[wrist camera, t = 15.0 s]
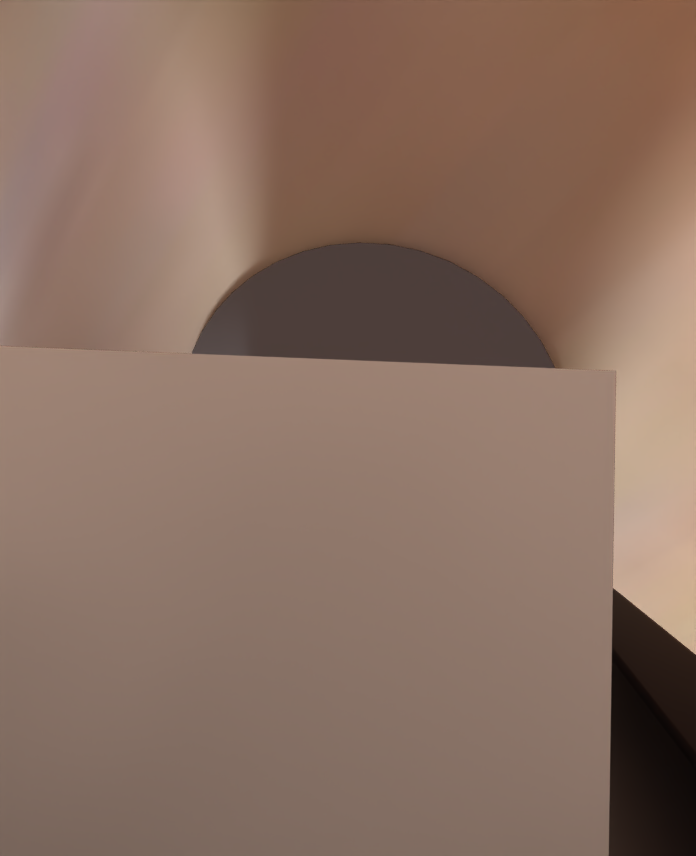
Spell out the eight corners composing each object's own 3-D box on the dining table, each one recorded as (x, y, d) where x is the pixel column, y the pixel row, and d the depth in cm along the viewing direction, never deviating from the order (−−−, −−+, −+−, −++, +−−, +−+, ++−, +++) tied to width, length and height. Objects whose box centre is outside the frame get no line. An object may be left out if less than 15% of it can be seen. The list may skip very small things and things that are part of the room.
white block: (209, 688, 12) (-273, 1088, 4) (246, 440, 14) (-68, 343, 5) (470, 753, 11) (595, 1701, 2) (488, 462, 12) (615, 370, 3)
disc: (207, 576, 16) (205, 580, 16) (156, 245, 12) (152, 245, 12) (529, 625, 14) (530, 630, 14) (611, 240, 10) (615, 240, 9)
